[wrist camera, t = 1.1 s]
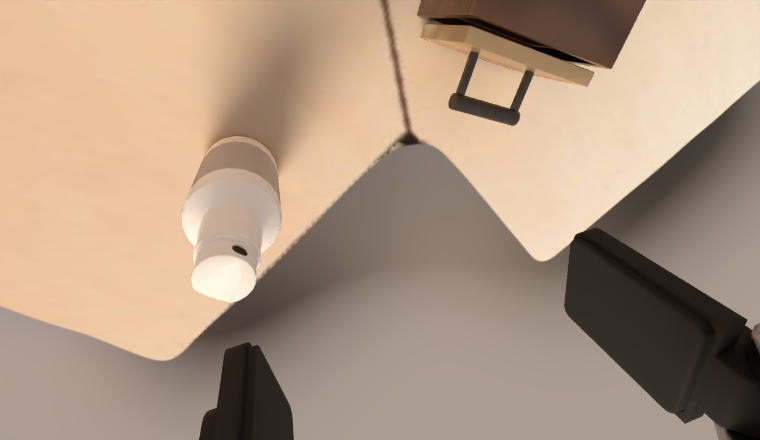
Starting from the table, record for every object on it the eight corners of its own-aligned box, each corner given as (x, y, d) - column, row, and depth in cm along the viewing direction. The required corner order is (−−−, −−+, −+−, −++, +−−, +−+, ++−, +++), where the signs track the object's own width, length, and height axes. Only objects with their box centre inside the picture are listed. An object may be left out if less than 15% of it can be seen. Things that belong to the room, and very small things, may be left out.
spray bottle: (290, 159, 37) (309, 258, 21) (255, 211, 38) (249, 339, 23) (225, 120, 33) (192, 205, 18) (189, 179, 35) (132, 303, 20)
